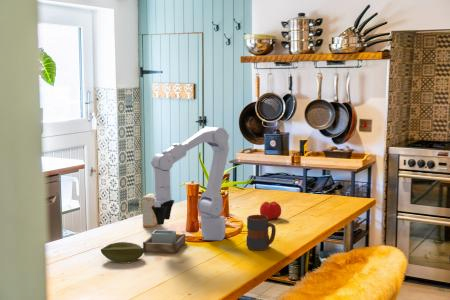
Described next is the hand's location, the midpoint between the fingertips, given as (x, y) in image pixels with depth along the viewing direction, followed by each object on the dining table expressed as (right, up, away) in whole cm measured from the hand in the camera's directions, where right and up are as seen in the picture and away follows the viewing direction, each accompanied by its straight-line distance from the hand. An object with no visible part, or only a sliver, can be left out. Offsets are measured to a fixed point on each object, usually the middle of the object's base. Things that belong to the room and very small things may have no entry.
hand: (163, 221), depth 222 cm
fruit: (-13, -12, -13) cm, 22 cm away
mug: (+37, -10, -1) cm, 38 cm away
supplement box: (-9, -6, +35) cm, 37 cm away
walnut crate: (0, -10, +1) cm, 10 cm away
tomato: (+43, -4, +43) cm, 61 cm away
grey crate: (0, -9, +1) cm, 9 cm away
